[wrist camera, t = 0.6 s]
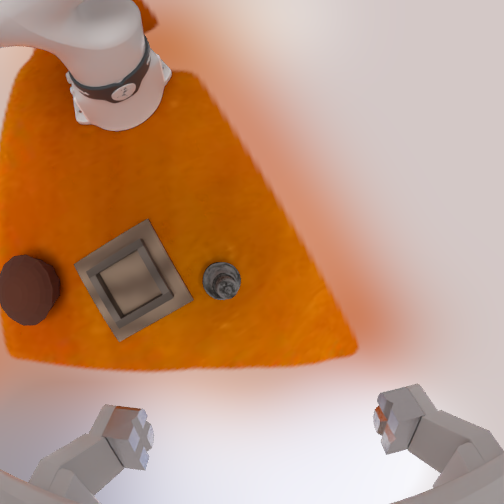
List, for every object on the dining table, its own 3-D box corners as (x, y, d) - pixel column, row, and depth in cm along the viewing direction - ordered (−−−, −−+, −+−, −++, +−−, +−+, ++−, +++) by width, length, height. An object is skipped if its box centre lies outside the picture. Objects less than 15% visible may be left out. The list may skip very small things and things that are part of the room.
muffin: (35, 326, 44) (10, 343, 34) (7, 273, 42) (-22, 281, 32) (79, 296, 45) (56, 309, 36) (49, 240, 44) (21, 241, 34)
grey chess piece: (229, 254, 50) (242, 261, 39) (242, 287, 51) (258, 303, 39) (196, 268, 49) (198, 278, 38) (209, 300, 50) (216, 320, 38)
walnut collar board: (75, 263, 45) (68, 266, 42) (148, 218, 47) (145, 217, 44) (120, 340, 47) (116, 346, 44) (193, 298, 49) (193, 303, 46)
